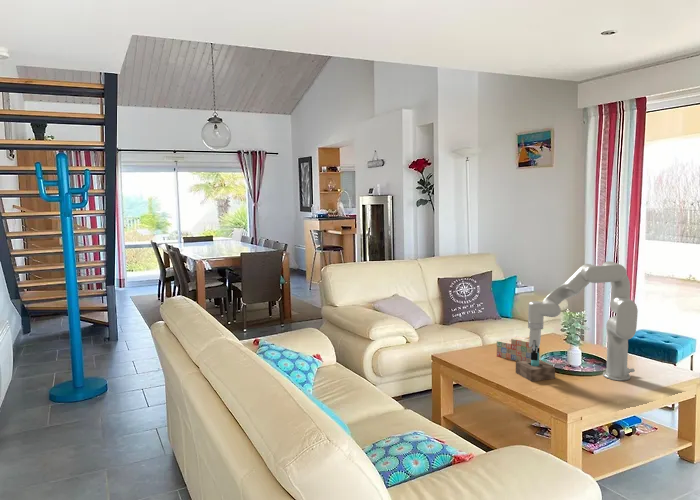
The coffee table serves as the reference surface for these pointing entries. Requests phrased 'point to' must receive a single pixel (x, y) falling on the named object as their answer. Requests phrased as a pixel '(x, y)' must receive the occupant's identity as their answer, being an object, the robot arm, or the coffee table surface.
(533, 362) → the peg
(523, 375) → the socket block
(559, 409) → the coffee table surface
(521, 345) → the stack of blocks
